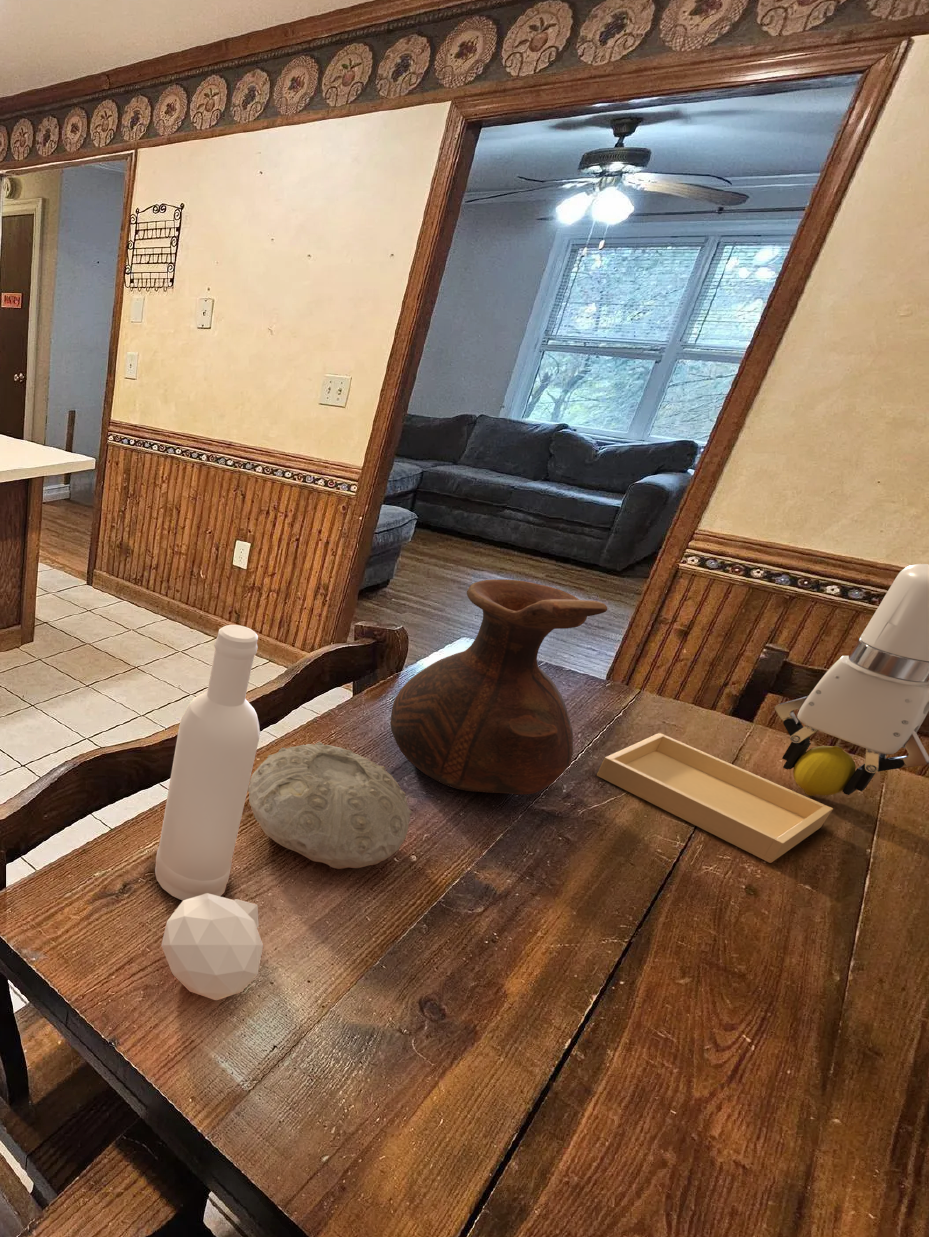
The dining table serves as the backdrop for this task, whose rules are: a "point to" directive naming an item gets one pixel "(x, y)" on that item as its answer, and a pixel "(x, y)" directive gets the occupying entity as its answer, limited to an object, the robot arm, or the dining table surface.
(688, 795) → the tray
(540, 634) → the jug
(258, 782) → the decorative shell
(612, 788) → the dining table surface
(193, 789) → the bottle
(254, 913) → the cream faceted rounded solid
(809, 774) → the lemon
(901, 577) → the robot arm
